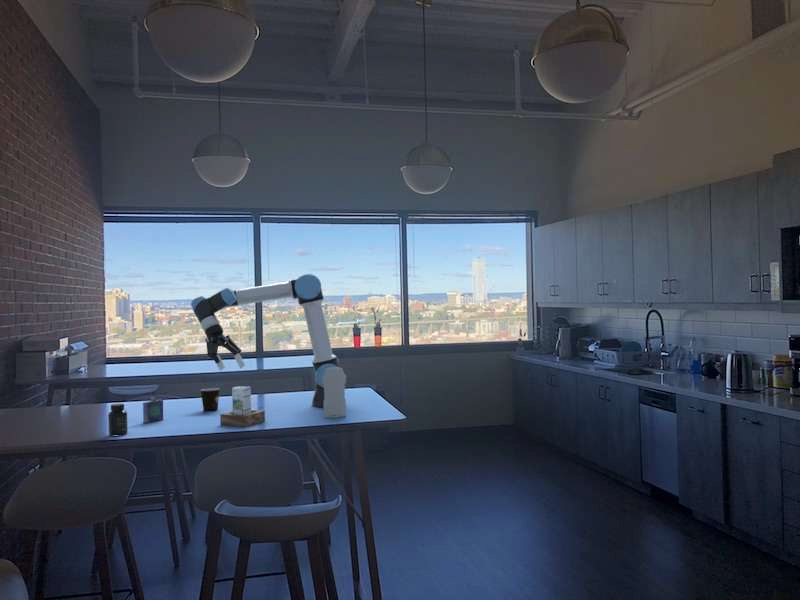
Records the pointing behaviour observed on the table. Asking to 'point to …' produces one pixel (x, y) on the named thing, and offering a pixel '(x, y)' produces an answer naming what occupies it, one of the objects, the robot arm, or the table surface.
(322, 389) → the robot arm
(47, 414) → the table surface
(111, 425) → the supplement bottle
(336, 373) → the tall pale column
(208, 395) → the coffee mug
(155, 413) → the flask
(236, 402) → the white printed canister
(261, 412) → the socket block
